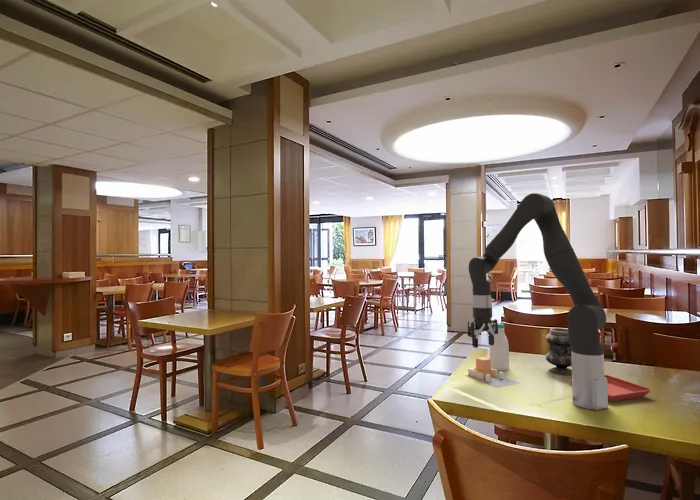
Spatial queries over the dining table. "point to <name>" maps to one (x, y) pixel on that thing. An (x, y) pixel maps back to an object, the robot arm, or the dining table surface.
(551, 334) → the carved stone vase
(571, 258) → the robot arm
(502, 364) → the milk bottle
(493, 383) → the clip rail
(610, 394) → the plant saucer
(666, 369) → the dining table surface
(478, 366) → the orange rectangular block
